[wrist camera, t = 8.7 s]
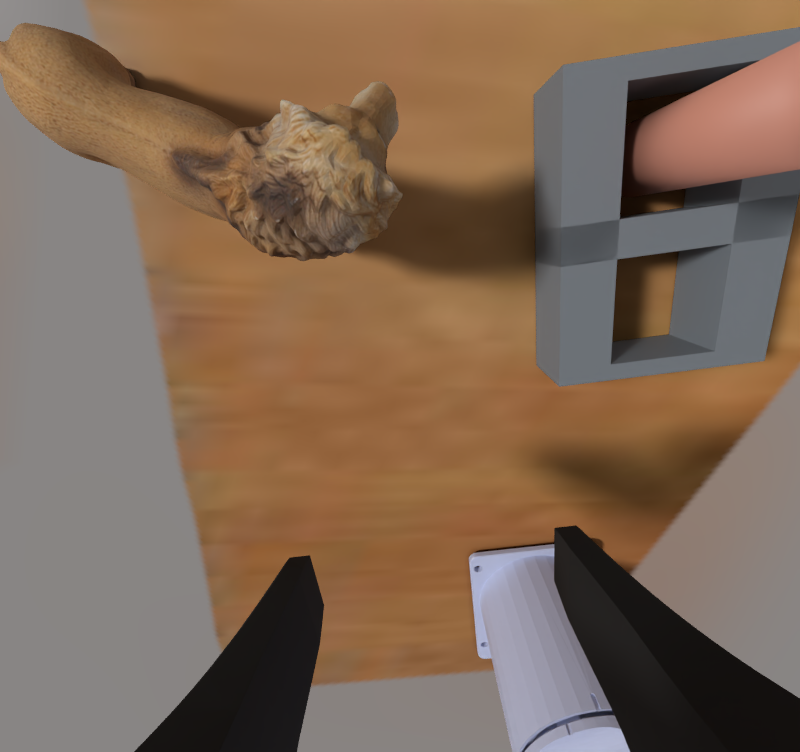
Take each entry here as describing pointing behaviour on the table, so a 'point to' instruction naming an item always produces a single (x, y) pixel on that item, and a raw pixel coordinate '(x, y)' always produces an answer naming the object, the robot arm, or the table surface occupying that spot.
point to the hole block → (650, 224)
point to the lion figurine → (215, 146)
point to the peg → (719, 131)
